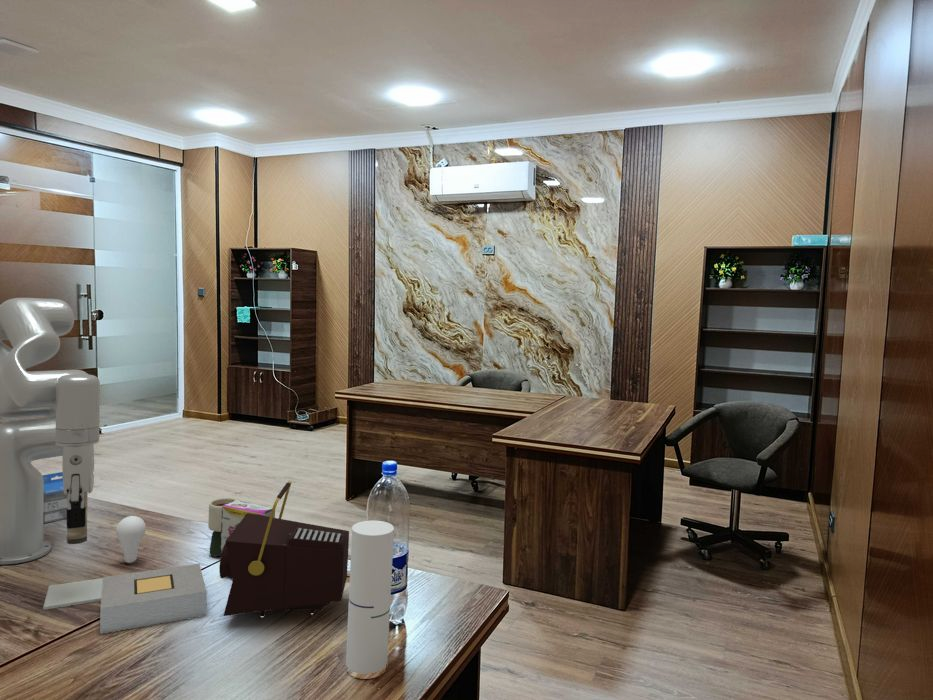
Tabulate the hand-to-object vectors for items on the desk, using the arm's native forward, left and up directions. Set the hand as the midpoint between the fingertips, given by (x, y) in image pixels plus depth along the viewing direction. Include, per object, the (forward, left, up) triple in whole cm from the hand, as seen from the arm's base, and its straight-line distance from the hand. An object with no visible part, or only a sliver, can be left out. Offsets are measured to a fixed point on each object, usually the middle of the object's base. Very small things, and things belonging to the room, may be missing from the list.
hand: (76, 523), depth 126 cm
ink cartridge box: (-7, +51, -15) cm, 54 cm away
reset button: (+14, -12, -13) cm, 23 cm away
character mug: (+30, +11, -15) cm, 35 cm away
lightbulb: (+10, +13, -15) cm, 23 cm away
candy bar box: (+33, -4, -15) cm, 37 cm away
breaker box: (+14, -12, -15) cm, 24 cm away
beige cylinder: (0, 0, -4) cm, 4 cm away
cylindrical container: (+46, -48, -15) cm, 68 cm away
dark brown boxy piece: (+38, -22, -15) cm, 46 cm away
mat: (0, 0, -15) cm, 15 cm away
